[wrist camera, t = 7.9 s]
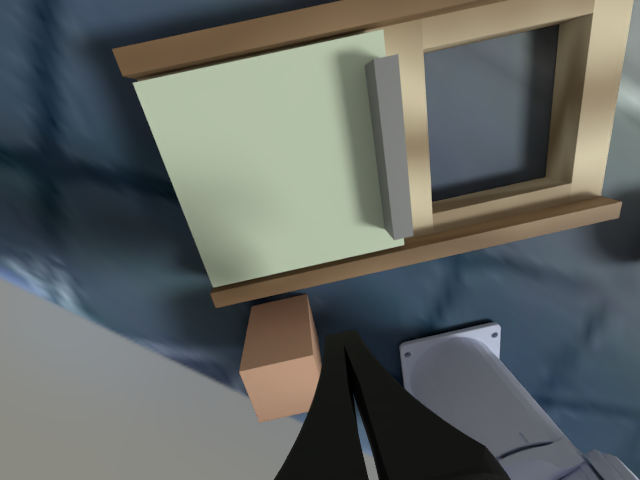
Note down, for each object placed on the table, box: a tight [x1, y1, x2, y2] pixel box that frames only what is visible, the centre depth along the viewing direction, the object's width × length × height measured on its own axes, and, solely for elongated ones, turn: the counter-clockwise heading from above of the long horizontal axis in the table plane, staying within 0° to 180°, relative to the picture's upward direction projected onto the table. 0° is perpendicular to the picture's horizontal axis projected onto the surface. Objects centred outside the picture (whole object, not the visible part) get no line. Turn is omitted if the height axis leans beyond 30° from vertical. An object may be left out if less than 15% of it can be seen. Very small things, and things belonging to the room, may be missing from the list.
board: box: [112, 0, 634, 308], centre depth 17 cm, size 13×24×3 cm, turn 101°
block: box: [239, 294, 322, 423], centre depth 20 cm, size 4×4×6 cm
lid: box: [133, 29, 414, 288], centre depth 15 cm, size 10×11×3 cm
